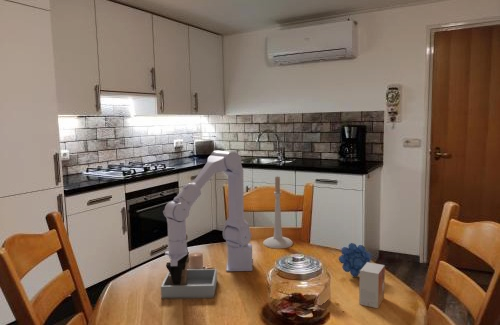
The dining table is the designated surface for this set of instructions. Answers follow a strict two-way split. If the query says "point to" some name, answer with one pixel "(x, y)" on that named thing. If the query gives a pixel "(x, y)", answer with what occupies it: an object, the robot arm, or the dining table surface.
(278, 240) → the candlestick
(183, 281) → the walnut cube
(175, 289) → the tote
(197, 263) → the terracotta cylinder
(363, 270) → the small box
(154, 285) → the dining table surface
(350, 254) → the blue flower
